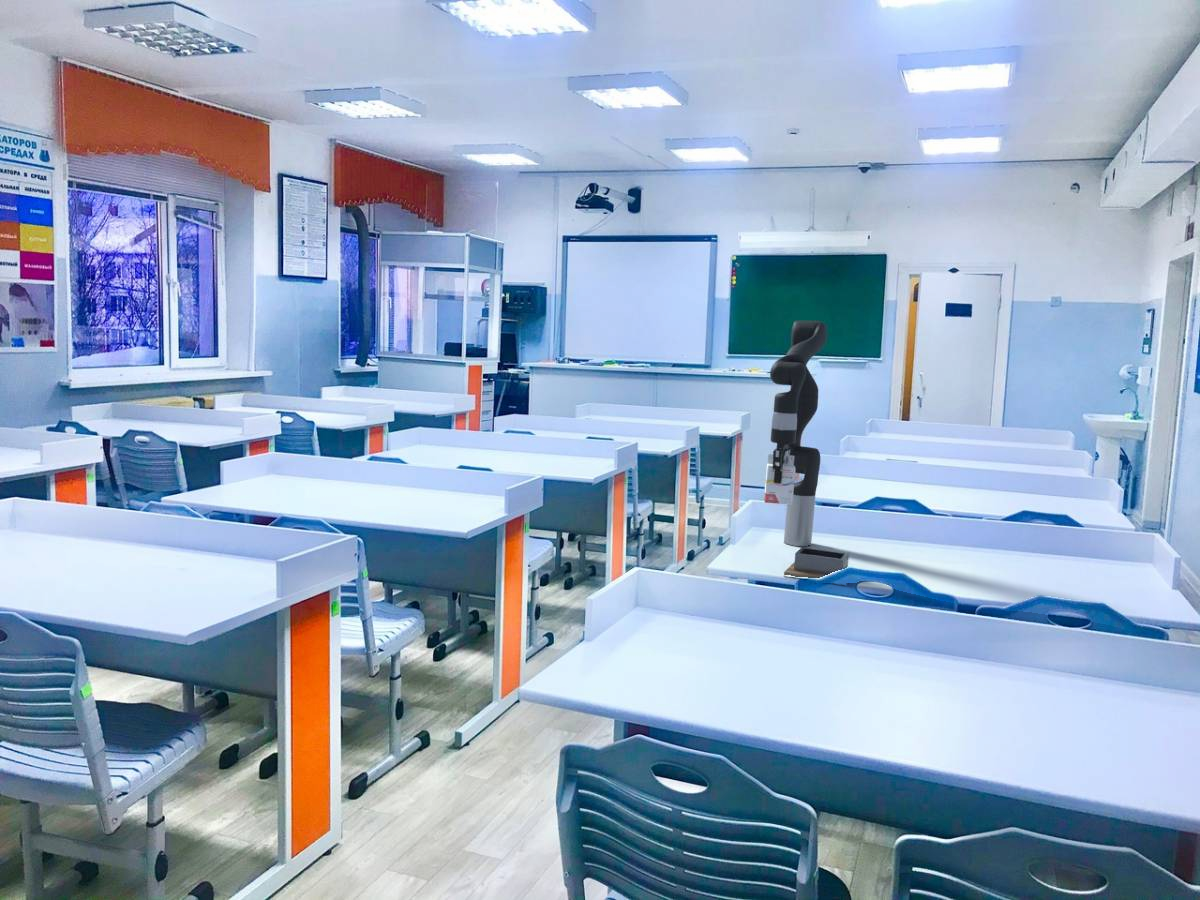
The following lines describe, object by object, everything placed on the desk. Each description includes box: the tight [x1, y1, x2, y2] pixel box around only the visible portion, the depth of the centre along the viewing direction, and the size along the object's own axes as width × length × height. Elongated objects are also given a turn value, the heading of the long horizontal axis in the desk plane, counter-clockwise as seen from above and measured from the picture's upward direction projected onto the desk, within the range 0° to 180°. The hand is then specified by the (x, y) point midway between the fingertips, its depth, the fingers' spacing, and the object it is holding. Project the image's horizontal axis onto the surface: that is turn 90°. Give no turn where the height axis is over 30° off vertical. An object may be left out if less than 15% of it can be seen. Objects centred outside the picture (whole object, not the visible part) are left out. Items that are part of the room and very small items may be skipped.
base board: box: [783, 561, 825, 578], centre depth 289 cm, size 18×18×2 cm
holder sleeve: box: [793, 546, 850, 575], centre depth 288 cm, size 10×14×5 cm
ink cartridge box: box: [763, 453, 796, 505], centre depth 299 cm, size 9×5×15 cm, turn 84°
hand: (779, 481), depth 299 cm, fingers closed on ink cartridge box, 5 cm apart
